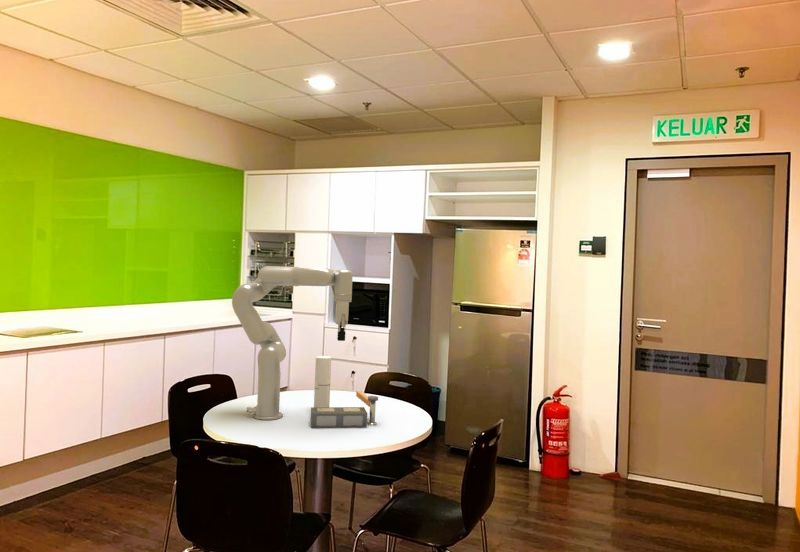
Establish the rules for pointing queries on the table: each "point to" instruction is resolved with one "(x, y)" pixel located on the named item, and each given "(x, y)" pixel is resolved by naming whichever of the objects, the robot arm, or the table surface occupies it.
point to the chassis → (338, 417)
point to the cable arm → (366, 397)
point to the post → (372, 413)
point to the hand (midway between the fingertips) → (341, 340)
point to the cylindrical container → (322, 381)
